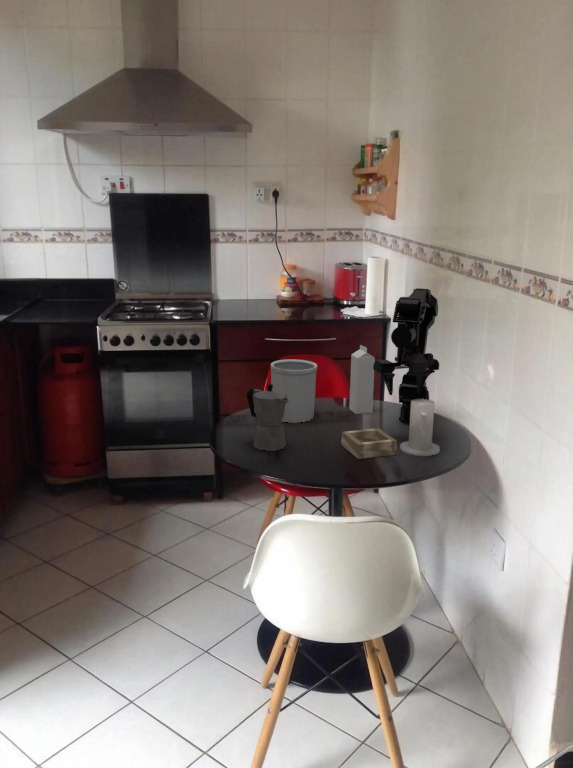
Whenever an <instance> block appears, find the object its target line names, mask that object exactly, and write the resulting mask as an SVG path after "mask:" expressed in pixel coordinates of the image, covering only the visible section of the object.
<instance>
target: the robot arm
mask: <svg viewBox="0 0 573 768" xmlns="http://www.w3.org/2000/svg"><path fill="white" fill-rule="evenodd" d="M394 307H395V308H394V312H393V316H392V317H393V318H392V323H396V324H397V326H396V327H395V328H394V329H393V331H392V332H391V334H390V341H391V342H392V343H393V345H394V347H395V348H396V349H397V351H396V352H397V354H396V356H394V361H395V362H393V361H390V360H388V359H375V363H374V366H373V369H374V371H375V372H377V373H378V374H380V375H381V376H382V379H383V381H384V384H385V386H386V390H387V391H388V395H389V396H393V393H394V377H395V376H396V373H394V371H395V370H399V369H400V370H401V369H402V370H403V369H408V371H407V372H406V373H405V374H403V376H402V379H401V383H400V384H399V386H398V403H399V404H401V406H400V413H399V414H400V415H399V417H398V419H399V420H400V421H401V422H403V423H405V424H406V425H410V410H411V401H412V400H414V399H427V400H430V391H429V390H428V386H427V379H428V377H429V376H431V374H434V373H435V372H436V371H439V370H440V362H439V360H438V359H435V358H434V355H433V353H432V352H430V353H429V352H428V353H426V350H427V342H428V335H429V330H430V329H431V327H433V325H434V324H435V320H436V317H438V313H439V302H438V298H436V297H435V296H434V295H433V294H432V291H431V289H429V288H413V290H412V293H411V294H409V296H400V297H399V298H398V300H396V302H395V306H394Z"/></svg>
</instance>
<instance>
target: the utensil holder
mask: <svg viewBox="0 0 573 768" xmlns="http://www.w3.org/2000/svg"><path fill="white" fill-rule="evenodd" d="M270 370H271V371H270V373H271V374H270V375H271V376H270V377H271V378H270V384H272V385H273V388H272V390H273V391H280V392H283V393H285V394H286V395H287V398H288V399H289V401H288V402H287V403H286V404H285V410H284V416H283V418H282V423H285V422H288V423H287V424H301V423H300V422H303V423H307V422H306V421H308V422H311V421H312V420H313V419H314V415H315V413H314V412H315V401H316V400H315V399H316V382H317V381H316V380H317V370H318V364H317V363H316V362H313V361H310V360H305V359H294V358H293V359H280V360H279V359H278V360H275V361H273V362H271V363H270ZM311 419H312V420H311ZM297 422H298V423H297Z"/></svg>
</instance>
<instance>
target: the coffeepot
mask: <svg viewBox="0 0 573 768" xmlns="http://www.w3.org/2000/svg"><path fill="white" fill-rule="evenodd" d="M266 387H267V390H261V389H258V388H254V387H251V388H249V389H248V391H246V394H245V395H246V400H247V403H248V408H249V411H250V415H251V417H254V418H257V423H256V426H255V427H256V428H255V432H254V438H253V442H252V443H253V444H252V445H253V447H254V448H255V449H256V448H257V449H256V450H259V451H262V450H266V451H265V452H276V450H277V451H281V450H283V449H284V448H285V447H286V445H287V444H286V436H285V430H284V424H283V422H282V418H283V416H284V410H285V404H286V403H287V402H288V401H289V399H288V398H287V395H286V394H285V393H283V392H280V391H273V390H272V388H273V385H272V384H271V383H269V384H266ZM280 449H281V450H280Z"/></svg>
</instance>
